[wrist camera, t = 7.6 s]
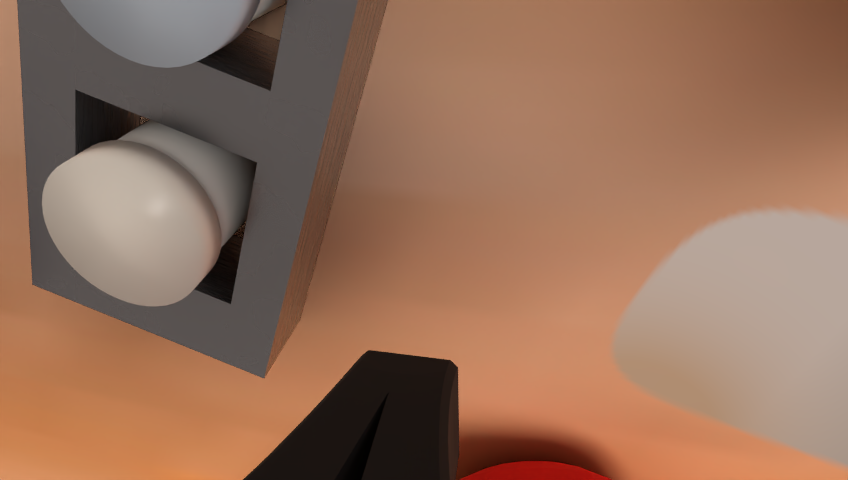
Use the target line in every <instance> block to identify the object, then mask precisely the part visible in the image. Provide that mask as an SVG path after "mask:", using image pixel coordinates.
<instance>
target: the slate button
mask: <svg viewBox="0 0 848 480" xmlns="http://www.w3.org/2000/svg"><path fill="white" fill-rule="evenodd" d="M61 2H62V4H63V5H64V6H65V8H66V9H67V10H68V12H69V13H70V14H71V15H72V17H73V18H74V19H75V20H76V21H77V22H78V23H79V24H80V25H81V27H82V28H83V29H84V30H86V31H87V32H88V33H89V34H90V35H91V36H92V37H93V38H94V39H96V40H97V41H98V42H100V43H101V44H102V45H104V46H105V47H106V48H108V49H110V50H111V51H113V52H115V53H116V54H118V55H120V56H122V57H124V58H126V59H129V60H131V61H134V62H137V63H140V64H143V65H148V66H153V67H163V68H171V67H181V66H184V65H188V64H192V63H194V62H196V61H199V60H201V59H203V58H205V57H206V56H208V55H210V54H212V53H214V52H215V51H217V50H219V49H221V48H223V47H224V46H226V45H228V44H229V43H231V42H232V41H234V40H235V39H236V38H237V37H238V36H239V35H240V34H241V33H242V32H243V31H244V30H245V29H246V27H247V26H248V25H249V23H250V22H251V21H253V20H254V19H256V18H258V17H260V16H262V15H264V14H266V13H268V12H270V11H272V10H274V9H275V8H277V7H279V6H281V5H283V4H285V3H286V2H287V0H61Z"/></svg>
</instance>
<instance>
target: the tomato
mask: <svg viewBox="0 0 848 480" xmlns="http://www.w3.org/2000/svg"><path fill="white" fill-rule="evenodd" d="M459 480H611V479H610V478H607V477H605V476H602V475H599V474H596V473H594V472H591V471H588V470H586V469H583V468H581V467H578V466H574V465H569V464H565V463H559V462H548V461H519V462H512V463H504V464H500V465H496V466H492V467H489V468H485V469H483V470H480V471H478V472H475V473H473V474H470V475H468V476H466V477H464V478H461V479H459Z"/></svg>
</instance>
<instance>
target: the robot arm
mask: <svg viewBox="0 0 848 480" xmlns="http://www.w3.org/2000/svg"><path fill="white" fill-rule="evenodd" d="M458 458H459V413H458V367H457V366H456V365H455V364H454V363H453V362H452V361H451V360H444V359H436V358H428V357H420V356H412V355H404V354H396V353H388V352H379V351H371V350H369V351H367V352H366V353H365V354H363V355H362V356H361V357H360V358H359V359H358V361H357V362H356V363H355V364H354V365H353V366H352V367H351V369H350V370H349V371H348V372H347V373H346V374H345V375H344V376H343V378H342V379H341V380H340V381H339V382H338V383H337V384H336V385H335V387H334V388H333V389H332V390H331V391H330V392H329V393H328V394H327V395H326V396H325V397H324V399H323V400H322V401H321V402H320V403H319V404H318V405H317V406H316V407H315V408H314V409H313V410H312V411H311V413H310V414H309V415H308V416H307V417H306V418H305V419H304V420H303V421H302V422H301V423H300V424H299V425H298V426H297V427H296V428H295V429H294V430H293V431H292V432H291V433H290V434H289V435H288V436H287V437H286V438H285V439H284V440H283V441H282V442H281V443H280V444H279V445H278V446H277V447H276V448H275V449H274V450H273V452H272V453H271V454H270V455H269V456H268V457H267V458H265V459H264V460H263V461H262V462H261V463H260V464H259V465H258V466H257V467H256V468H255V469H254V470H253V471H252V472H251V473H250V474H249V475H248V476H246V477H245V478H244V479H243V480H456V472H457V465H458Z"/></svg>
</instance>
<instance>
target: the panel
mask: <svg viewBox="0 0 848 480" xmlns="http://www.w3.org/2000/svg"><path fill="white" fill-rule="evenodd" d="M387 1H388V0H287V6H286V11H285V16H284V22H283V27H282V32H281V38H280V41H277V40H275V39H272V38H270V37H267V36H265V35H262V34H260V33H257V32H255V31H252V30H250V29H247V28H246V29H245V30H244V31H243V32H242V33H241V34H240V35H239V36H238V37H237V38H236V39H235V40H234V41H232V42H231V43H229V44H228V45H226V46H224V47H223V48H221V49H219V50H217V51H215V52H214V53H212V54H210V55H208V56H206V57H205V58H203V59H201V60H199V61H196V62H194V63H192V64H188V65H184V66H181V67H171V68H163V67H153V66H148V65H143V64H140V63H137V62H134V61H131V60H129V59H126V58H124V57H122V56H120V55H118V54H116V53H115V52H113V51H111V50H110V49H108V48H106V47H105V46H104V45H102V44H101V43H100V42H98V41H97V40H96V39H94V38H93V37H92V36H91V35H90V34H89V33H88V32H87V31H86V30H84V29H83V28H82V27H81V25H80V24H79V23H78V22H77V21H76V20H75V19H74V18H73V17H72V15H71V14H70V13H69V12H68V10H67V9H66V8H65V6H64V5H63V4H62V2H61V0H17V4H18V22H19V41H20V60H21V78H22V97H23V116H24V135H25V153H26V172H27V191H28V210H29V228H30V247H31V266H32V285H35V286H37V287H40V288H42V289H45V290H47V291H50V292H52V293H55V294H57V295H60V296H62V297H65V298H67V299H69V300H72V301H74V302H77V303H79V304H82V305H84V306H87V307H89V308H92V309H94V310H97V311H99V312H102V313H104V314H106V315H109V316H111V317H114V318H116V319H119V320H121V321H124V322H126V323H129V324H131V325H134V326H136V327H139V328H141V329H143V330H146V331H148V332H151V333H153V334H156V335H158V336H161V337H163V338H166V339H168V340H171V341H173V342H176V343H178V344H180V345H183V346H185V347H188V348H190V349H193V350H195V351H198V352H200V353H203V354H205V355H208V356H210V357H213V358H215V359H217V360H220V361H222V362H225V363H227V364H230V365H232V366H235V367H237V368H240V369H242V370H245V371H247V372H250V373H252V374H254V375H257V376H259V377H262V378H265V376H266V375H267V373H268V371H269V370H270V368H271V366H272V365H273V363H274V361H275V360H276V358H277V357H278V355H279V353H280V352H281V350H282V348H283V347H284V345H285V344H286V342H287V340H288V339H289V337H290V335H291V334H292V332H293V331H294V329H295V327H296V326H297V324H298V322H299V321H300V318H301V314H302V311H303V307H304V303H305V300H306V296H307V292H308V289H309V285H310V281H311V278H312V274H313V271H314V267H315V263H316V260H317V256H318V252H319V249H320V245H321V241H322V238H323V234H324V230H325V227H326V223H327V220H328V216H329V212H330V209H331V205H332V201H333V198H334V194H335V190H336V187H337V183H338V180H339V176H340V172H341V169H342V165H343V161H344V158H345V154H346V150H347V147H348V143H349V139H350V136H351V132H352V129H353V125H354V121H355V118H356V114H357V110H358V107H359V103H360V99H361V96H362V92H363V89H364V85H365V81H366V78H367V74H368V70H369V67H370V63H371V59H372V56H373V52H374V48H375V45H376V41H377V38H378V34H379V30H380V27H381V23H382V19H383V16H384V12H385V8H386V5H387ZM140 116H142V117H145V118H147V119H150V120H152V121H155V122H157V123H160V124H162V125H165V126H167V127H170V128H172V129H175V130H177V131H180V132H182V133H185V134H187V135H190V136H192V137H195V138H197V139H200V140H202V141H205V142H207V143H210V144H212V145H215V146H217V147H220V148H222V149H225V150H227V151H230V152H232V153H235V154H237V155H240V156H242V157H245V158H247V159H250V160H252V161H255V162H257V167H256V172H255V178H254V183H253V188H252V194H251V199H250V205H249V210H248V215H247V221H246V226H245V232H244V237H243V239H242V238H240V237H237V236H235V235H232V236H231V238H230V239H229V240H228V241H227V242H226V243H225V244H224V245H223V246H222V247H221V250H220V254H219V257H218V259H217V262H216V264H215V265H214V267H213V268H212V269H211V271H210V272H209V273H208V274H207V275H206V276H205V277H204V278H203V279H202V281H201V282H200V283H199V284H198V285H197V286H196V287H195V288H194V290H193V291H192V292H191V293H190V294H189V295H188V296H186V297H185V298H183V299H182V300H180V301H178V302H176V303H173V304H169V305H166V306H142V305H136V304H132V303H128V302H125V301H123V300H120V299H117V298H115V297H113V296H111V295H109V294H107V293H105V292H103V291H102V290H100V289H98V288H97V287H95V286H94V285H92V284H91V283H90V282H88V281H87V280H86V279H85V278H83V277H82V276H81V275H80V274H79V273H78V272H77V271H76V270H75V269H74V268H73V267H72V266H71V265H70V264H69V263H68V262H67V261H66V259H65V258H64V257H63V256H62V254H61V253H60V252H59V250H58V248H57V247H56V245H55V244H54V242H53V240H52V238H51V236H50V234H49V232H48V229H47V226H46V224H45V220H44V216H43V209H42V194H43V189H44V186H45V183H46V181H47V179H48V177H49V176H50V174H51V173H52V172H53V171H54V170H55V169H56V168H57V167H58V166H59V165H61V164H62V163H64V162H66V161H67V160H69V159H71V158H72V157H74V156H76V155H77V154H79V153H80V152H82V151H84V150H85V149H87V148H89V147H90V146H92V145H95V144H97V143H100V142H104V141H110V140H118V139H119V138H121V137H122V136H124V135H126V134H127V133H129V132H130V131H132V130H133V129H135V128H137V127H138V126H140Z"/></svg>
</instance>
